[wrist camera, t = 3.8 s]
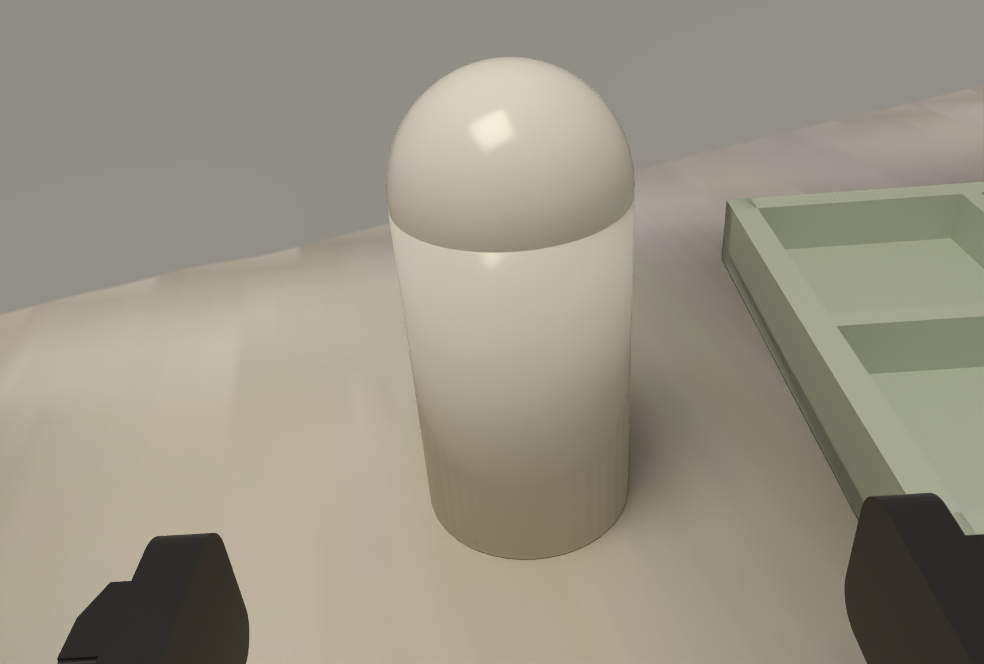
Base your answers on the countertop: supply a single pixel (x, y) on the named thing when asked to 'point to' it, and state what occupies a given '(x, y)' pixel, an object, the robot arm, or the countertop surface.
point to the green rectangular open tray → (876, 330)
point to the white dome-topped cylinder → (517, 302)
